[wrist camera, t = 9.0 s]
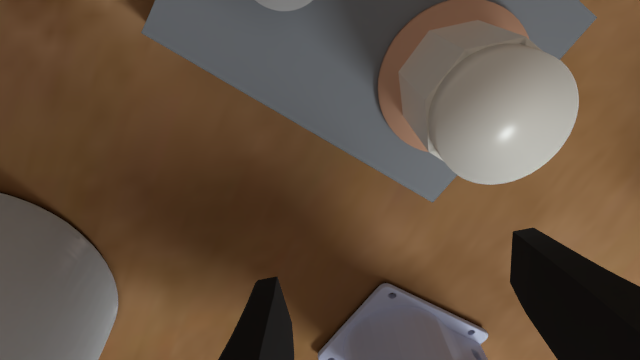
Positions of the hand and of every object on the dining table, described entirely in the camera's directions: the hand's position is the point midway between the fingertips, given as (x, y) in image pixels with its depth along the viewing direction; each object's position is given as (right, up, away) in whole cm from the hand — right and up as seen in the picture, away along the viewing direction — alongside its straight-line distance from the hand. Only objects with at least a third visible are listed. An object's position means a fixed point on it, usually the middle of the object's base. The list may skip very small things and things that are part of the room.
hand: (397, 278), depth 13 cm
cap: (+4, +7, +6) cm, 10 cm away
